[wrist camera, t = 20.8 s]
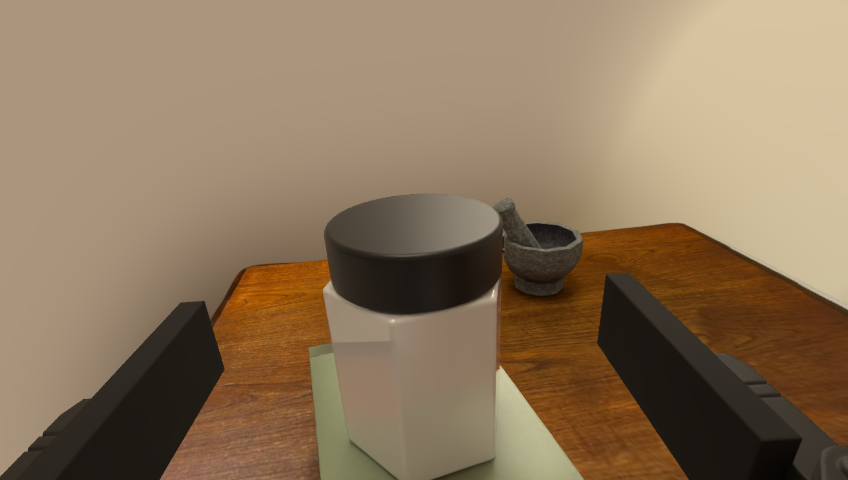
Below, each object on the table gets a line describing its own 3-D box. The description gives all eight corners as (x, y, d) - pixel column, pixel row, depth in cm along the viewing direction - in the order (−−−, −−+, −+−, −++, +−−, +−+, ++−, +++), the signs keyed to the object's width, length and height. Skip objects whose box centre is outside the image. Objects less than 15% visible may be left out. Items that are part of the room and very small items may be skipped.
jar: (534, 412, 24) (546, 211, 19) (442, 523, 19) (427, 280, 14) (418, 350, 30) (406, 183, 25) (321, 421, 24) (282, 225, 20)
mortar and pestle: (556, 263, 60) (562, 181, 56) (592, 296, 52) (603, 202, 47) (480, 274, 59) (480, 190, 54) (504, 309, 50) (507, 213, 45)
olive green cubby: (365, 776, 18) (337, 662, 14) (326, 439, 34) (308, 347, 31) (606, 659, 21) (630, 542, 17) (464, 400, 37) (462, 313, 34)
